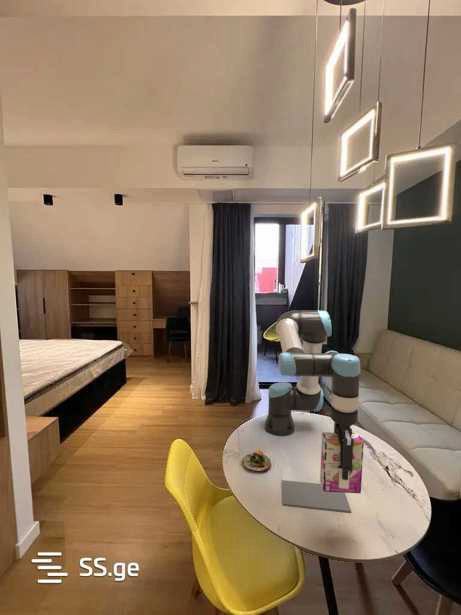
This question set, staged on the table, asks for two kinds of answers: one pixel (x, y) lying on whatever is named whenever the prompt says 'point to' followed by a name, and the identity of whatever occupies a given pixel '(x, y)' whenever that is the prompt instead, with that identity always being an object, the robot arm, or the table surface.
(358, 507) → the table surface
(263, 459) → the plate of food
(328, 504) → the mat
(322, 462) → the candy bar box
